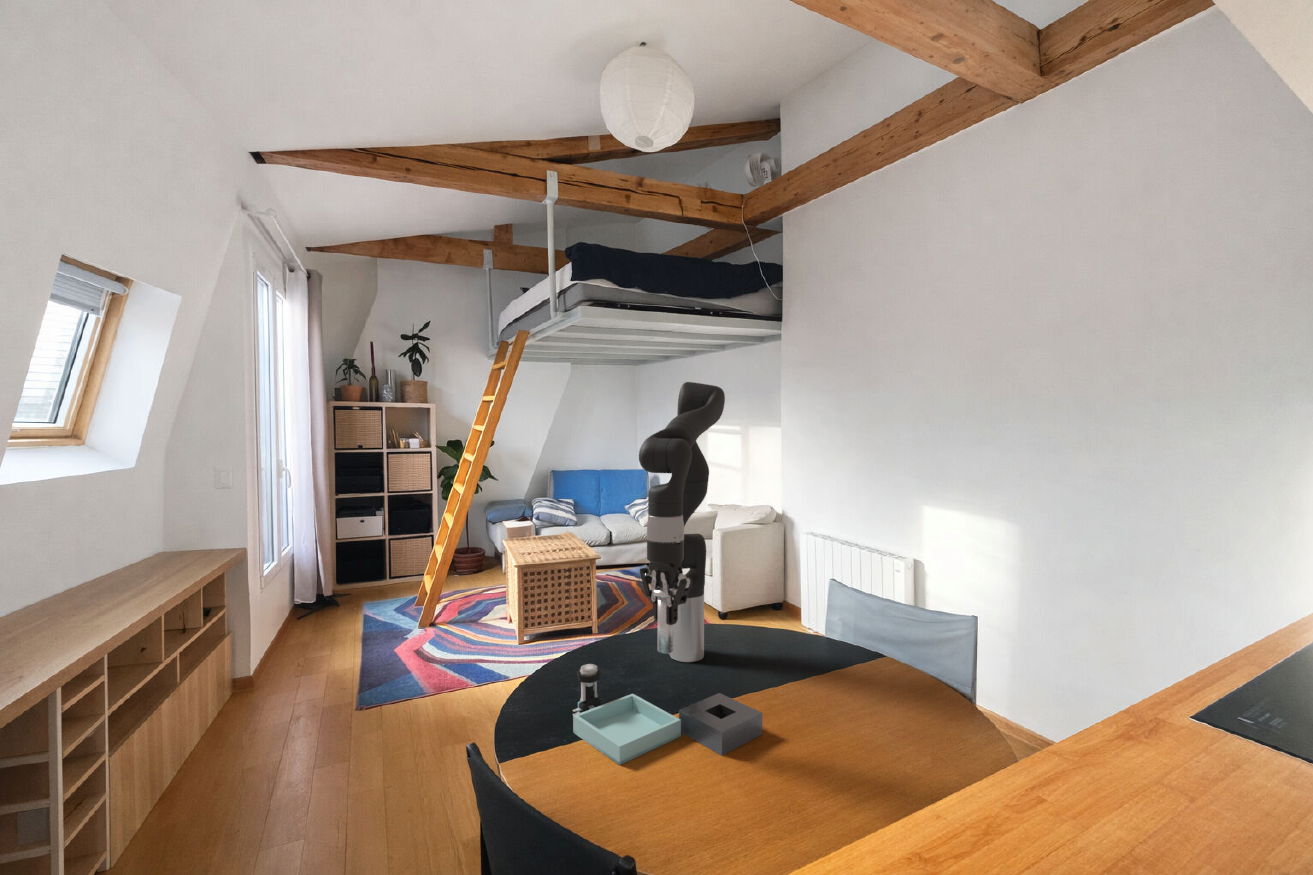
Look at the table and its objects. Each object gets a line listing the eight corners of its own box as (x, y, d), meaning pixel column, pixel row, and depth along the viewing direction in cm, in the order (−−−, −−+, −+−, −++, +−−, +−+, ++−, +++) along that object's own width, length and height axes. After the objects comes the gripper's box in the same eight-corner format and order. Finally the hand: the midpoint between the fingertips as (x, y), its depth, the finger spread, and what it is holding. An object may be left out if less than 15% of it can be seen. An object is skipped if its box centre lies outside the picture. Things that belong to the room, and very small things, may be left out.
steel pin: (647, 650, 124) (648, 589, 124) (665, 644, 128) (665, 584, 127) (664, 657, 121) (664, 594, 120) (682, 650, 124) (682, 589, 124)
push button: (579, 722, 130) (579, 675, 129) (566, 712, 134) (566, 667, 134) (605, 713, 134) (605, 668, 133) (593, 704, 138) (592, 660, 138)
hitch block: (679, 731, 126) (679, 709, 126) (719, 713, 134) (719, 692, 134) (721, 755, 117) (721, 732, 117) (762, 734, 125) (762, 712, 125)
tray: (573, 732, 125) (573, 715, 125) (632, 709, 136) (632, 693, 136) (619, 765, 114) (619, 746, 114) (680, 736, 124) (680, 719, 124)
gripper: (628, 534, 126) (628, 617, 127) (676, 544, 116) (676, 635, 116) (655, 530, 131) (655, 610, 132) (703, 539, 121) (703, 626, 121)
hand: (665, 621), depth 124 cm, fingers closed on steel pin, 3 cm apart
